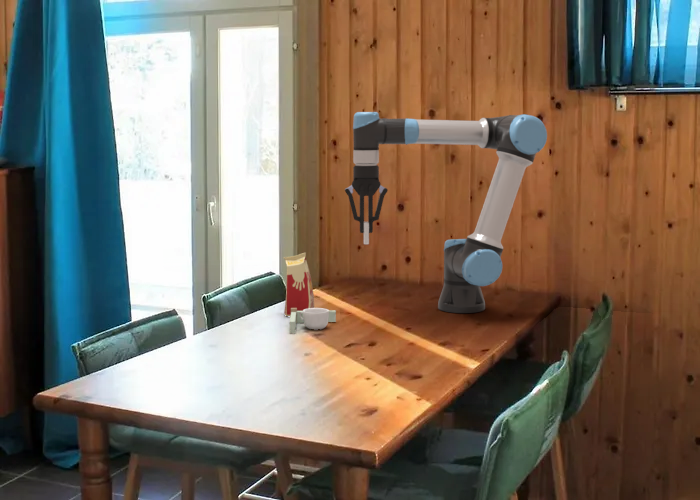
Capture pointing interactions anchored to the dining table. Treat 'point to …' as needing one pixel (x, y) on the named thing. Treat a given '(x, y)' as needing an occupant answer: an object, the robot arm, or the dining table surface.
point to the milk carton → (298, 284)
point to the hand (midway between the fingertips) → (366, 243)
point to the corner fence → (296, 318)
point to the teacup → (315, 318)
